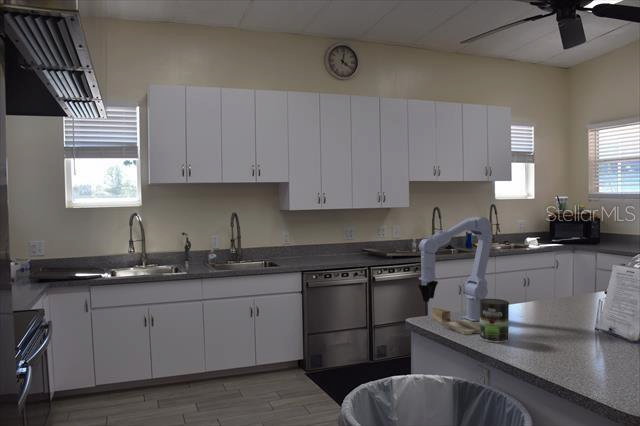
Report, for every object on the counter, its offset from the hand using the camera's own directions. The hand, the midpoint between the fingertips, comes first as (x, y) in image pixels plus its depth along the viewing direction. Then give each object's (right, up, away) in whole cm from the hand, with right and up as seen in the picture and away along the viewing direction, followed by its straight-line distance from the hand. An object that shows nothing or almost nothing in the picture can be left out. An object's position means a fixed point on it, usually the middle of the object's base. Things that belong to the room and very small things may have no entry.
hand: (428, 299), depth 213 cm
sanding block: (+6, -10, +3) cm, 12 cm away
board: (+13, -10, -10) cm, 19 cm away
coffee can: (+19, -10, -26) cm, 34 cm away
